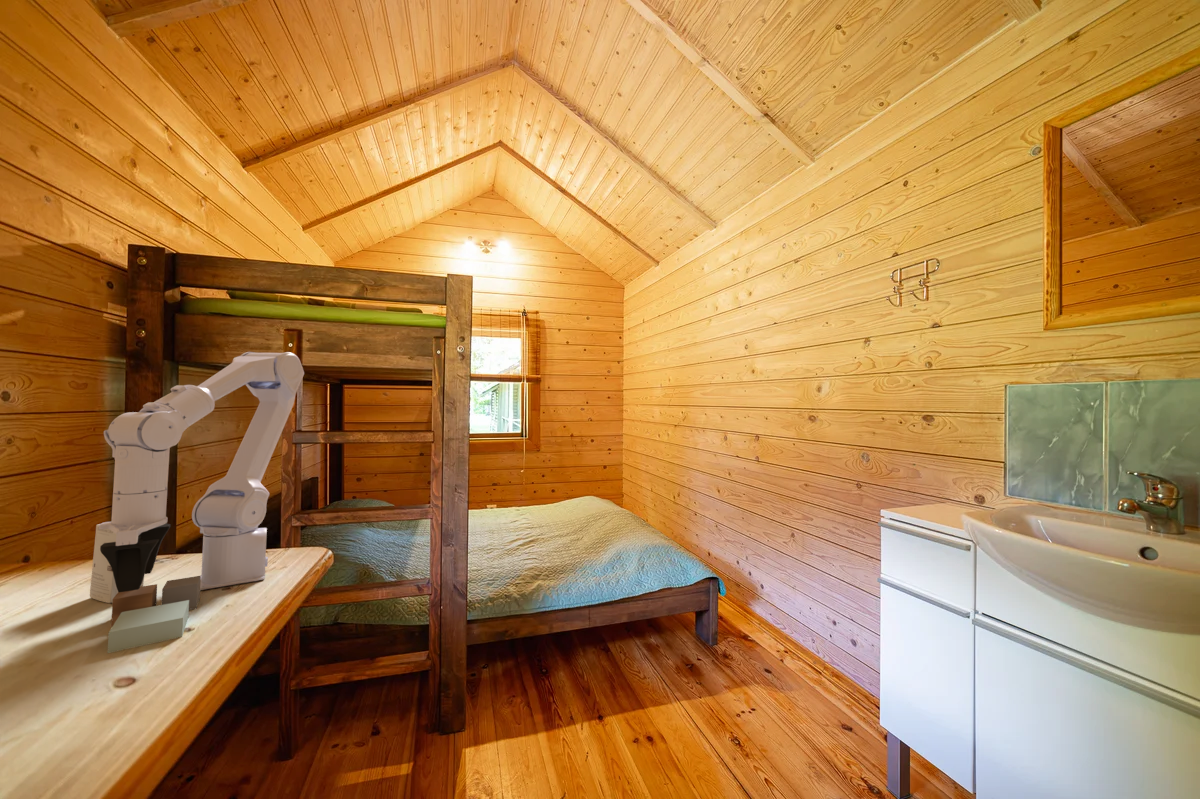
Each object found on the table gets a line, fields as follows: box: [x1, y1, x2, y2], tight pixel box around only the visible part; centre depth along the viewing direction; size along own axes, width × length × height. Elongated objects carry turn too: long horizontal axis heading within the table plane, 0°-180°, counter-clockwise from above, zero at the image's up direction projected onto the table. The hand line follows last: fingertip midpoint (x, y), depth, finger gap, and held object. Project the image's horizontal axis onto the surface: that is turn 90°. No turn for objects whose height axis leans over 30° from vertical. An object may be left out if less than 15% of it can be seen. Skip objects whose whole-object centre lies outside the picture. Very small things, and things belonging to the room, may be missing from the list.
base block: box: [107, 600, 190, 654], centre depth 61 cm, size 7×7×3 cm
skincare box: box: [89, 523, 145, 604], centre depth 73 cm, size 6×4×12 cm
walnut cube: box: [110, 583, 158, 628], centre depth 66 cm, size 4×4×4 cm
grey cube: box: [161, 575, 201, 610], centre depth 70 cm, size 4×4×4 cm
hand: (135, 581), depth 66 cm, fingers open, 7 cm apart
